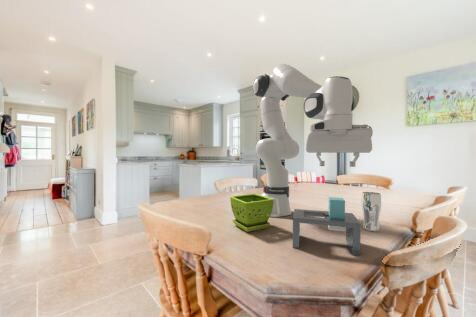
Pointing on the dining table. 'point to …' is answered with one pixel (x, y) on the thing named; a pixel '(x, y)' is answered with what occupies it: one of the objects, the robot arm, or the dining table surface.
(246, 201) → the flower pot
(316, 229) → the dining table surface
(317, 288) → the dining table surface
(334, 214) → the peg
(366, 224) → the beer glass
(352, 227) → the keyhole bracket
